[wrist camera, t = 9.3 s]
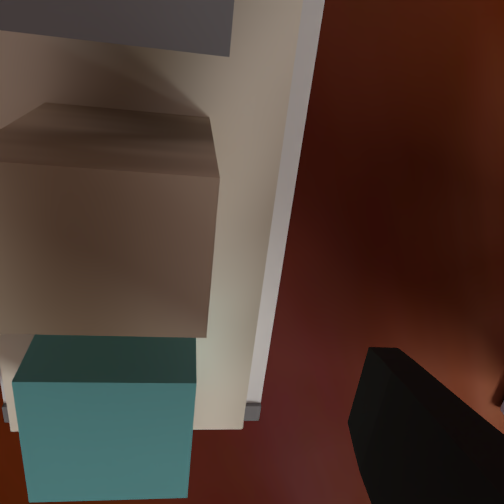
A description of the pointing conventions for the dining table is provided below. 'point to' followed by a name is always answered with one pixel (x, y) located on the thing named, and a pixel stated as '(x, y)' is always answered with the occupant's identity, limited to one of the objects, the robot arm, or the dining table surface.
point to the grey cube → (127, 22)
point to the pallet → (236, 155)
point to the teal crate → (106, 416)
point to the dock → (278, 200)
